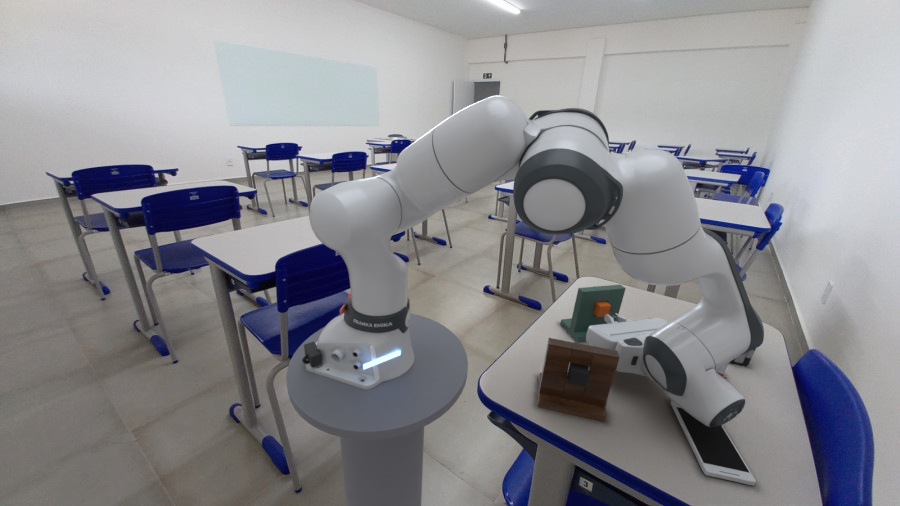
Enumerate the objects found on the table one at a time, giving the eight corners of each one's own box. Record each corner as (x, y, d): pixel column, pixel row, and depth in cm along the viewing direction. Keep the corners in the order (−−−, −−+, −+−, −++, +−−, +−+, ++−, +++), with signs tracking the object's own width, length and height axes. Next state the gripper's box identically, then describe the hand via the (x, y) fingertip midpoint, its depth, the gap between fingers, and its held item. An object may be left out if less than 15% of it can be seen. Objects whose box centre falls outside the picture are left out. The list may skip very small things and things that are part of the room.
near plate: (604, 422, 64) (621, 365, 59) (537, 406, 67) (548, 350, 62) (598, 390, 72) (613, 337, 67) (538, 377, 74) (548, 325, 69)
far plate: (618, 337, 89) (631, 292, 84) (577, 342, 86) (588, 296, 81) (598, 319, 96) (609, 277, 92) (560, 324, 93) (569, 280, 88)
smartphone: (709, 409, 68) (711, 405, 68) (755, 486, 54) (757, 482, 54) (669, 402, 70) (670, 398, 69) (704, 475, 56) (706, 471, 55)
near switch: (585, 387, 63) (589, 373, 62) (568, 383, 64) (571, 370, 63) (584, 375, 66) (587, 363, 65) (567, 372, 66) (570, 359, 65)
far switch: (608, 316, 86) (611, 305, 85) (597, 317, 85) (600, 306, 84) (600, 309, 89) (603, 299, 88) (590, 310, 88) (592, 300, 87)
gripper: (700, 335, 73) (649, 301, 85) (616, 346, 67) (575, 308, 80) (690, 359, 75) (642, 323, 87) (608, 372, 70) (569, 331, 82)
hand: (609, 316), depth 83 cm, fingers closed
